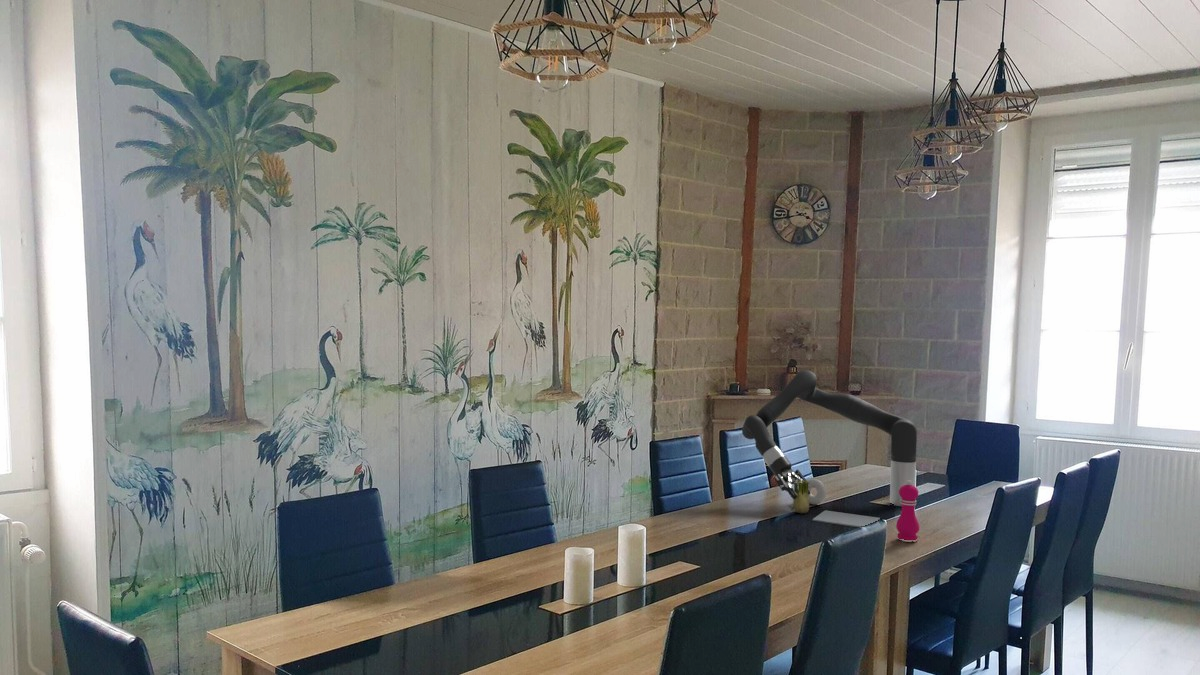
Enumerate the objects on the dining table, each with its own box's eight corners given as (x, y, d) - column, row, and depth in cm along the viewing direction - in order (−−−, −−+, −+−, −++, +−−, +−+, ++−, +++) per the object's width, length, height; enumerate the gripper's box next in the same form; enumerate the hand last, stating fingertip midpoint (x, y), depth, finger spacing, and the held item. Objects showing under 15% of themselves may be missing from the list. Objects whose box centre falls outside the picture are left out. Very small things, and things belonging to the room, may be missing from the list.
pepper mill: (919, 538, 280) (921, 479, 279) (918, 544, 274) (919, 483, 273) (896, 536, 283) (898, 477, 282) (894, 541, 277) (896, 481, 276)
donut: (827, 505, 325) (828, 480, 324) (823, 507, 322) (823, 481, 322) (804, 501, 332) (805, 476, 331) (800, 502, 329) (800, 477, 329)
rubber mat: (825, 511, 316) (825, 510, 316) (879, 519, 305) (879, 517, 305) (812, 520, 302) (812, 519, 302) (869, 529, 292) (869, 527, 292)
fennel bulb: (793, 514, 311) (793, 481, 311) (792, 510, 316) (793, 479, 316) (809, 515, 310) (810, 482, 310) (808, 511, 315) (809, 480, 315)
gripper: (781, 464, 327) (806, 499, 319) (760, 469, 317) (785, 505, 310) (793, 453, 323) (819, 487, 315) (772, 457, 313) (798, 493, 306)
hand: (802, 496), depth 313 cm, fingers open, 8 cm apart
